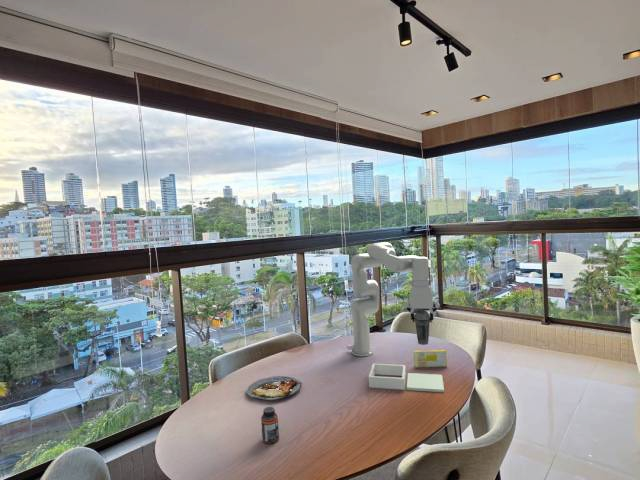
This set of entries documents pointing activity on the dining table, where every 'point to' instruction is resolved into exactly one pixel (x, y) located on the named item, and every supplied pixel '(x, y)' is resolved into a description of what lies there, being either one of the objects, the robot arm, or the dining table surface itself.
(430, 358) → the candy box
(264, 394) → the food plate
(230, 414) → the dining table surface
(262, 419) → the supplement bottle
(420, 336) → the beverage cup
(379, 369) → the bin
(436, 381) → the pad
